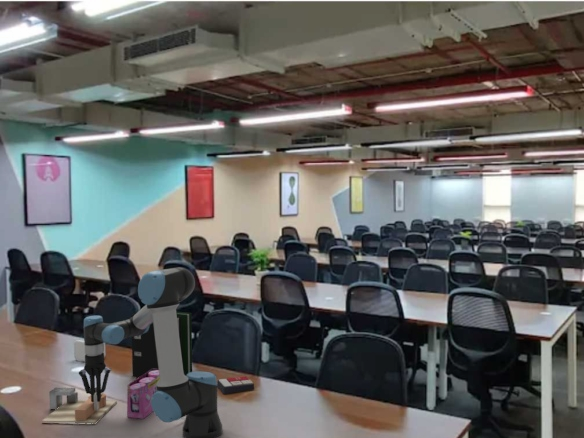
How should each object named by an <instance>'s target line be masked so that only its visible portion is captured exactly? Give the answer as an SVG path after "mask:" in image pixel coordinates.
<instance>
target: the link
mask: <svg viewBox="0 0 584 438" xmlns="http://www.w3.org/2000/svg"><path fill="white" fill-rule="evenodd" d="M86 400H87V401H85V402H84V403H83V404H82V405H80V406H79V407H78V408H77V409H75V420H86V419H87V418H88V417H90V416H91V415H92V414H93V413H94V412H95V411H96V410H95V411H94V402H92V401H91V394H89V396H88V399H86ZM106 401H107V394H105V393H104V392H103V393H101V400H100V402H99V408H100V407H103V406H105V405H106ZM99 408H98V409H99Z"/></svg>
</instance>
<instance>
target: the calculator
mask: <svg viewBox="0 0 584 438" xmlns="http://www.w3.org/2000/svg"><path fill="white" fill-rule="evenodd" d="M217 384H218V385H217V390H219V391H220V393H222V394H223V395H230V394H233V393H242V392H248V391H254V390H255V383H254V382H253V381H252V380H251V379H249V377H247V376H236V377H228V378H221V379H217Z"/></svg>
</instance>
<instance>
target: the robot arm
mask: <svg viewBox="0 0 584 438" xmlns="http://www.w3.org/2000/svg"><path fill="white" fill-rule="evenodd" d="M195 287H196V280H195V276H194V274H193V273H192V272H191V271H190V270H189V269H187V268H185V267H179V266H178V267H171V268H165V269H164V268H163V269H155V270H152V271H149V272H146V273H145V274H144V275H142V277H141V278H140V280H139V282H138V287H137V293H138V294H137V295H138V298H139V299H140V302H141V303H142V304H144V306H143V307H142V308H140V309H139V310H138V311H137V312H135V313H136V314H135V315H134V316H133V317H132V318H131V317H130V318H129V319H123V320H121V321H115V322H112V323H108V322H107V323H106V322H104V319H103V316H102V315H90V316H86V317H85V318H83V327H82V328H83V338H84V339H83V341H84V343H85V344H84V346H85V354H86V355H85V361H84V367H83V369H80V371H78V375H79V376H80V377H81V380H82V384H83V387H84V389H85V390H84V391H85V393H86V394H87V395H88V394H89V395H91V401H92V402H94V411H95V410H98V408H99V402H100V400H101V393H103V394H104V392H105V391H106V389H107V388H106V387H107V384H108V379H109V375H110V373H111V371H112V368H109V367H107V366H106V363H105V357H104V353H103V352H104V343H105V344H108V345H118V344H120V343H121V342H122V341H123V340H125V339H128V338H132V337H134V336H137V335H142V334H144V333H146V332H147V331H148V329H149V327H150V325H151V324H152V323H153V325H154V334H155V342H156V351H157V359H158V367H159V376H160V379H159V381H158V382H157V384H156V387H157V392H155V393H154V394H153V396H152V398H151V405H152V409H153V413H154V415H155V416H156V417H157V418H158V419H159V420H160V421H162V422H163V423H172V422H175V421H178V420H180V419H181V418H184V417H185V418H184V419H185V420H184V423H183V426H182V437H183V438H218V437H219V436H221V435H222V434H223V424H222V421H221V418H220V415H219V413H218V412H219V411H218V387H217V385H218V384H217V381H218V379H217V376H216V374H215V373H212V372H210V371H201V370H200V371H192V372H190V373H188V374H187V376H185V375H184V372H183V364H182V356H181V348H180V339H179V331H178V323H177V315H176V312H177V308H178V306H180V302H183V301H184V300H186V299H187V298H188V297H189V296H190V295H192V293H193V291H194V289H195ZM103 372H104V376H103V380H102V378H101V377H102V373H103ZM87 375H88V376H89V377H88V376H87ZM88 378H89V379H88ZM95 388H96V391H97V393H95Z"/></svg>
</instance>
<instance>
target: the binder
mask: <svg viewBox="0 0 584 438" xmlns="http://www.w3.org/2000/svg"><path fill="white" fill-rule="evenodd" d="M136 313H137V312H135V313H132V314H131V315H130V316H131V317H130V318H132V317H133V316H134V315H135V314H136ZM176 315H177V323H178V331H179V339H180V348H181V356H182V364H183V372H184V375H185V376H187V374H188V373H190V372H193V334H192V329H193V328H192V327H193V326H192V312H183V311H176ZM131 360H132V361H131V362H132V369H131V370H132V371H131V372H132V377H133V378H139V377H141V376H142V375H144V374H145V373H147V372H148V371H150V370H151V369H153V368H155V369H159V367H158V359H157V351H156V342H155V334H154V325H153V323H152V324H151V325H150V327H149V329H148V331H147V332H146V333H144V334H142V335H137V336H134V337H131Z"/></svg>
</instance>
